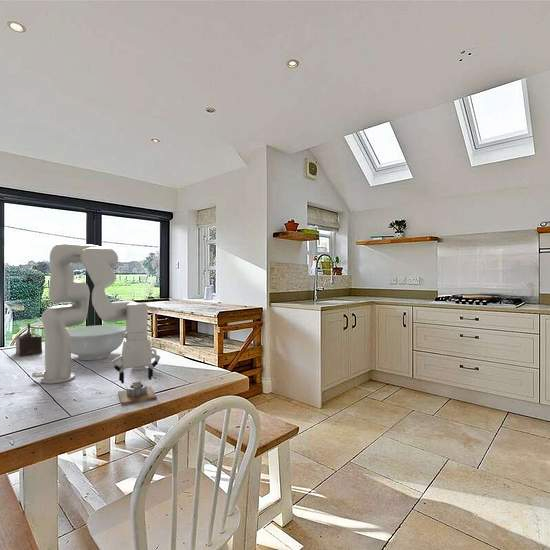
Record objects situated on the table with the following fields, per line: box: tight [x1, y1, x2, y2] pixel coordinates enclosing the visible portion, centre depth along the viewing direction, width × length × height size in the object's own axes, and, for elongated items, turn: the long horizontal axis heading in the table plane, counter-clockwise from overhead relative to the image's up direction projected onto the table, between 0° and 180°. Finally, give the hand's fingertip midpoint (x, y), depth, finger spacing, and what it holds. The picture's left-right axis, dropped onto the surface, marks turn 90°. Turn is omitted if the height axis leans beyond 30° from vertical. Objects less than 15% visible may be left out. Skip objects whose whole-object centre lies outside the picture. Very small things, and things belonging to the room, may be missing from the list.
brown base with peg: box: [117, 380, 157, 406], centre depth 131 cm, size 12×12×6 cm
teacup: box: [132, 345, 158, 371], centre depth 166 cm, size 12×15×10 cm
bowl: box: [66, 324, 126, 361], centre depth 186 cm, size 32×32×15 cm
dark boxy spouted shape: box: [15, 323, 44, 358], centre depth 193 cm, size 16×11×18 cm
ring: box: [126, 382, 148, 398], centre depth 131 cm, size 7×7×3 cm
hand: (136, 380), depth 131 cm, fingers open, 9 cm apart
